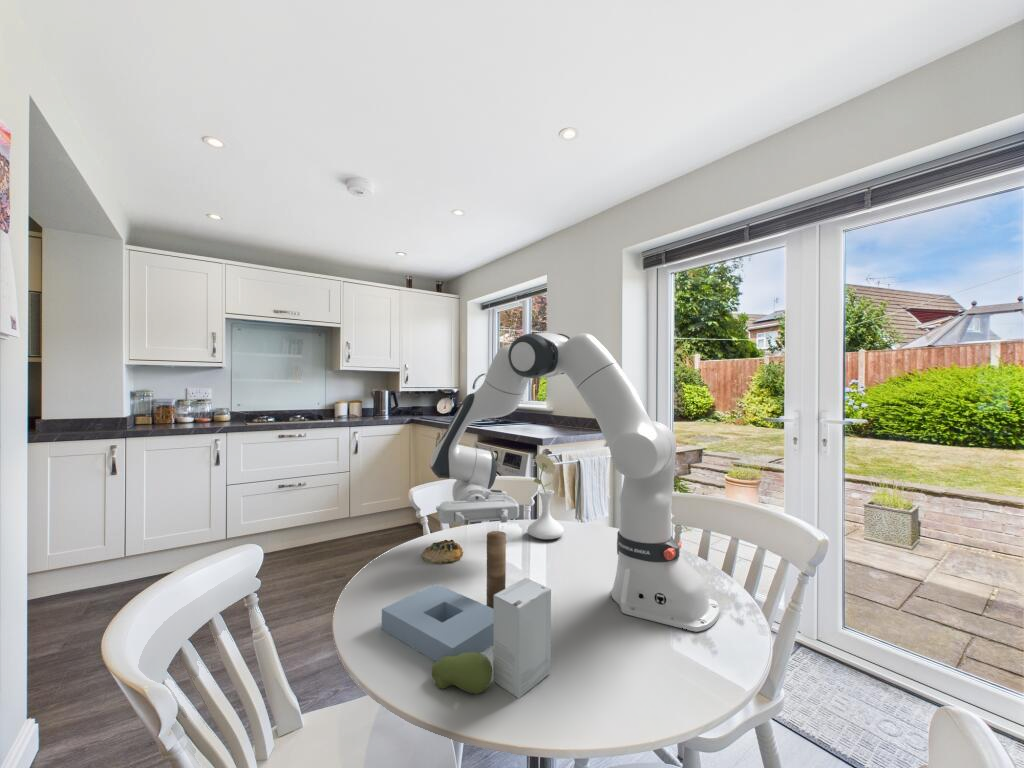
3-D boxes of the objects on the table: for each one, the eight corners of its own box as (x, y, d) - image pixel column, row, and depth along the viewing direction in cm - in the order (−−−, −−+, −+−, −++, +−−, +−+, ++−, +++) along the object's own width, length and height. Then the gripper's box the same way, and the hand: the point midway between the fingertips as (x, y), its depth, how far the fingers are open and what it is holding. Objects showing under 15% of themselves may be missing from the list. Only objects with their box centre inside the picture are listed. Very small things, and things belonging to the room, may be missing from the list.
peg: (509, 608, 98) (509, 533, 97) (496, 616, 95) (497, 539, 94) (495, 602, 100) (495, 529, 100) (482, 609, 97) (482, 534, 97)
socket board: (506, 635, 88) (506, 614, 88) (452, 671, 77) (452, 648, 77) (436, 601, 100) (436, 583, 100) (381, 629, 90) (381, 608, 89)
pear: (481, 667, 69) (423, 664, 73) (486, 702, 69) (428, 698, 73) (494, 646, 75) (440, 644, 78) (499, 679, 75) (444, 676, 78)
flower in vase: (571, 540, 138) (571, 457, 137) (536, 545, 134) (537, 459, 133) (551, 526, 150) (552, 450, 150) (519, 530, 146) (519, 452, 145)
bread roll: (449, 545, 133) (450, 529, 132) (470, 562, 125) (471, 545, 124) (414, 556, 126) (415, 539, 126) (434, 575, 118) (435, 557, 117)
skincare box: (525, 659, 80) (525, 575, 80) (552, 675, 76) (553, 586, 76) (490, 683, 74) (491, 592, 74) (518, 701, 70) (519, 605, 70)
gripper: (435, 494, 120) (441, 510, 107) (510, 490, 126) (525, 505, 112) (434, 518, 120) (441, 537, 107) (510, 513, 126) (525, 530, 112)
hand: (485, 520), depth 110 cm, fingers open, 8 cm apart
